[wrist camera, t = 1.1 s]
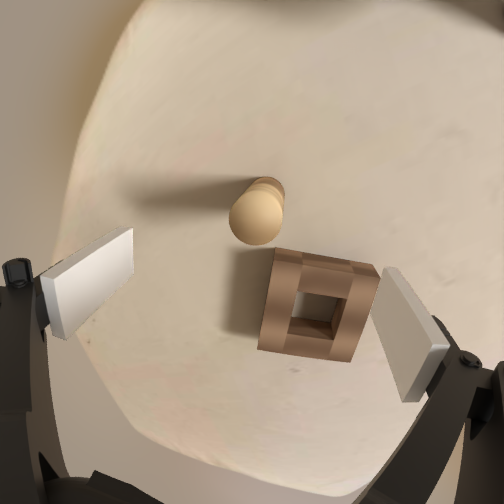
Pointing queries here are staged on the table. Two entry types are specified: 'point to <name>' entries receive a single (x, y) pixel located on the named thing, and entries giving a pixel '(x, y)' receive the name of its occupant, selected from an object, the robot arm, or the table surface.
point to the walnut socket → (324, 283)
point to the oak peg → (258, 212)
